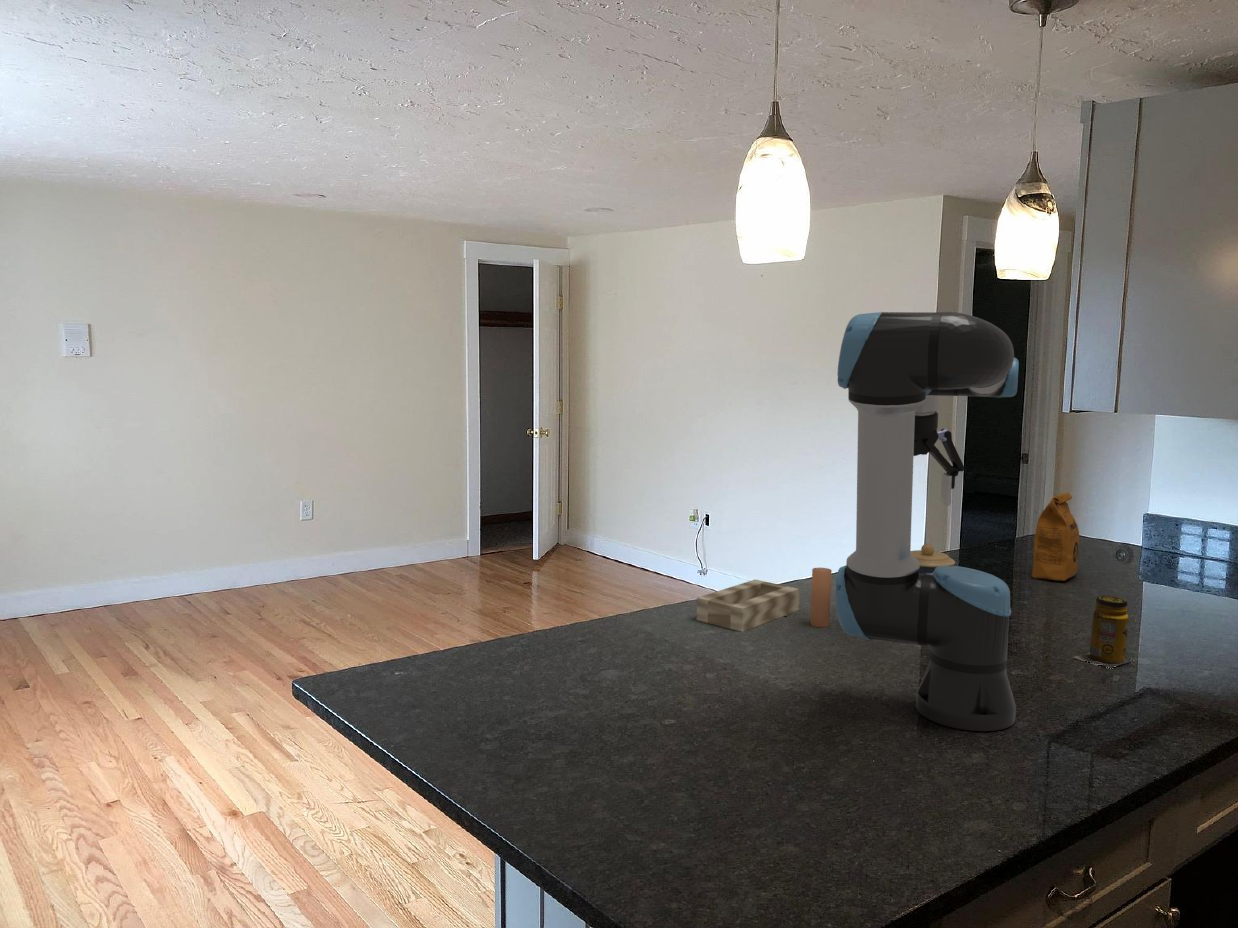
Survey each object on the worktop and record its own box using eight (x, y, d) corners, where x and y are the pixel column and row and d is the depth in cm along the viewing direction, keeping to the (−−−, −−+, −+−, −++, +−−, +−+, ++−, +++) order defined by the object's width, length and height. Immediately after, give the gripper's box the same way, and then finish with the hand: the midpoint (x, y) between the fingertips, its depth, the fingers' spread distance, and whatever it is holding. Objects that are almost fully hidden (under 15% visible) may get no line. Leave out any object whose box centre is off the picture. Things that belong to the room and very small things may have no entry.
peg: (823, 628, 192) (825, 573, 191) (806, 624, 195) (808, 569, 194) (833, 624, 195) (835, 569, 194) (816, 620, 198) (818, 566, 197)
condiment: (1134, 661, 173) (1139, 600, 172) (1110, 670, 169) (1115, 607, 167) (1097, 651, 179) (1101, 591, 178) (1073, 658, 175) (1077, 598, 173)
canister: (935, 637, 187) (940, 553, 185) (880, 622, 197) (884, 542, 194) (967, 625, 196) (971, 544, 193) (913, 611, 205) (916, 535, 203)
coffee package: (1083, 577, 238) (1090, 494, 235) (1065, 585, 229) (1071, 499, 227) (1044, 570, 245) (1050, 489, 242) (1025, 577, 237) (1031, 494, 234)
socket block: (742, 631, 190) (742, 608, 189) (696, 619, 198) (697, 597, 197) (798, 610, 206) (799, 588, 205) (754, 600, 214) (754, 579, 213)
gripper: (965, 400, 193) (960, 494, 199) (854, 413, 189) (853, 509, 196) (984, 408, 186) (979, 505, 192) (870, 422, 182) (868, 521, 189)
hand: (916, 507), depth 194 cm, fingers open, 13 cm apart
